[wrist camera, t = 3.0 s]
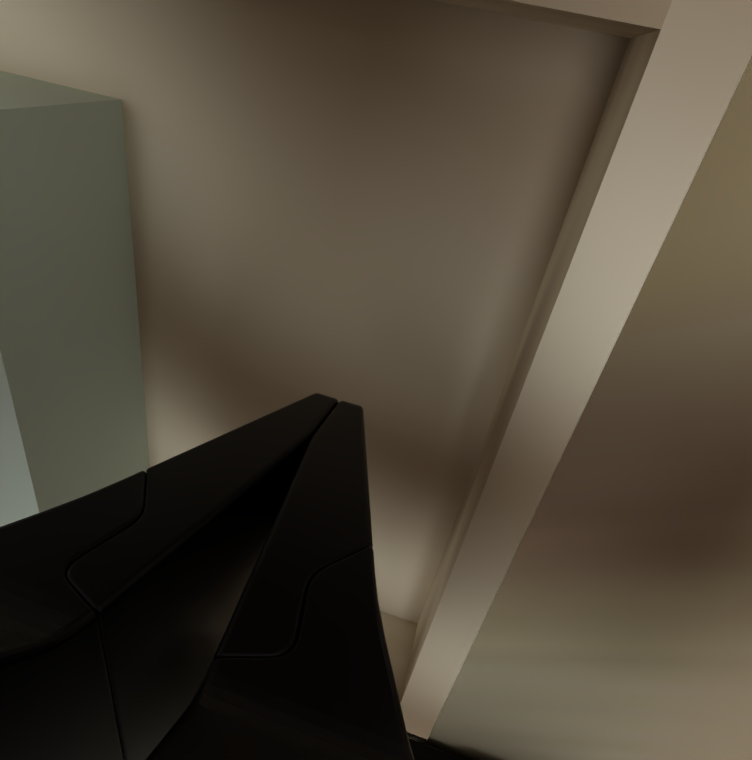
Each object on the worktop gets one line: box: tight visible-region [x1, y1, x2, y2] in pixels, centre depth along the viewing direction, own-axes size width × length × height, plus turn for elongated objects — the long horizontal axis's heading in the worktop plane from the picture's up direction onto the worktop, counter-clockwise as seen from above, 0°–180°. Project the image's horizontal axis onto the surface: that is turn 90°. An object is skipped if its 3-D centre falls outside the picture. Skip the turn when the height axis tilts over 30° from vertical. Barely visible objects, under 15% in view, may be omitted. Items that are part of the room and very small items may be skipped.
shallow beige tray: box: [0, 0, 752, 739], centre depth 10 cm, size 14×16×2 cm
